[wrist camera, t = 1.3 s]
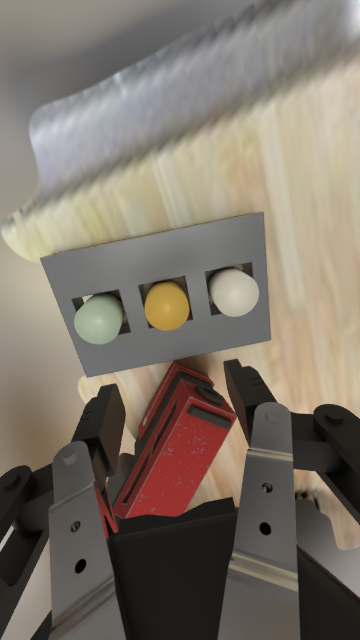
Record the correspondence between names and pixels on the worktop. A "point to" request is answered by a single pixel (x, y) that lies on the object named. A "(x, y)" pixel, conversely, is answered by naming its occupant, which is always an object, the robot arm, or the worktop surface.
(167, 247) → the panel
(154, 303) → the button amber
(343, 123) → the worktop surface
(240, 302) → the button ivory
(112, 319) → the button sage
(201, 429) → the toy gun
